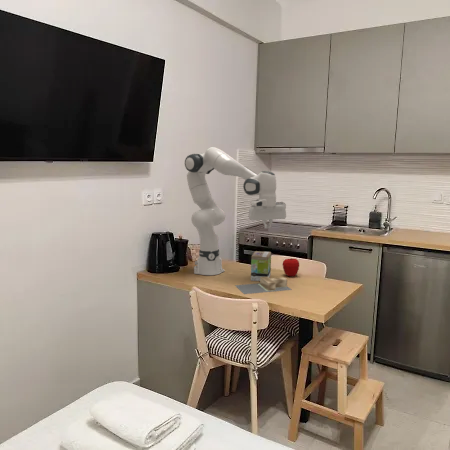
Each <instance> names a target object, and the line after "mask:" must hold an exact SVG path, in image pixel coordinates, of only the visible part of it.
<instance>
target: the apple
mask: <svg viewBox="0 0 450 450" xmlns="http://www.w3.org/2000/svg"><path fill="white" fill-rule="evenodd" d="M282 269H283V272H284V274H285V275H286V276H287V277H296V275H297V274H298V272H299V269H300V261H299V260H298V259H297V258H286V259H284V260H283V262H282Z"/></svg>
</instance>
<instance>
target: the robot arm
mask: <svg viewBox="0 0 450 450" xmlns="http://www.w3.org/2000/svg"><path fill="white" fill-rule="evenodd" d="M184 167H185V169H186V170H187V171H188V173H187V174H186V180H187V186H188V189H189V192H190V194H191V198H192V201H193V203H194V204H196V205H197V206H198V207H199V208H200V209H199V210H197V211H195V212H193V214H192V215H191V223H192V225H193V227H195V228H196V229H197V230H196V231H197V232H198V236H199V249H198V250H199V251H198V255H199V256H198V258H197V260H195V261H194V265H195V266H193V274H195V275H201V276H202V275H203V276H214V275H215V276H216V275H219V274H222V273H225V269H224V268H223V260H222V258H221V256H220V248H219V236H218V234H216V232H215V230H214V227H215V226H218V225H221V224H222V223H223V222H224V221H225V220H226V213H225V211H224V210H223V209H222V208H221V207H220V206H218V204H217V203H216V201H215V199H214V198H213V196H212V193H211V191H210V188H209V185H208V182H207V180H206V175H209V174H210V173H211V172H212V171H214V170H216V171H217V172H218V173H220V174H222V175H223V176H232V177H239V178H241V179H243V180H244V182H243V185H242V187H243V188H242V189H243V191H244V193H245V194H246V195H248V196H259V198H258V199H255V200H252V201H250V207H249V209H248V219H249V220H250V221H262V223H263V225H264V226H263V228H264V229H271V226H272V224H273V223H274V220H286V218H287V211H286V208H287V204H286V203H285V202H283V201H277V194H276V190H277V179H276V178H277V177H276V174H275V173H274V172H272V171H266V170H264V171H263V170H262V171H260V173H258V174H257V173H256V172H254V171H253V170H251V169H250V168H249V167H247V166H245V165H243V164H242V163H241V162H239V161H238V160H236V159H235V158H233V157H232V156H230V155H229V154H228V153H227V152H225V151H224V150H222V149H220V148H218V147H215V146H211V147H209V148H207V150H205V152H199V153H192V154H188V155H187V156H186V157H185V159H184ZM267 221H268V222H269V223H268V224H267V223H266V222H267Z"/></svg>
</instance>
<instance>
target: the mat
mask: <svg viewBox="0 0 450 450" xmlns="http://www.w3.org/2000/svg"><path fill="white" fill-rule="evenodd" d="M234 286H235V288H237V289H238V290H239V291H240V292H241V293H242V294H244V295H250V294H251V295H252V294H259V293H261V294H262V293H271V292H281V291H282V292H283V291H292V289H291V288H290V286H287V287H277V288H275V290H271V291H268V290H267V289H265V288H264V287H263V286H262V285H260V283H259V282H258V283H248V284H247V283H245V284H237V285H234Z"/></svg>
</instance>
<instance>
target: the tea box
mask: <svg viewBox="0 0 450 450" xmlns="http://www.w3.org/2000/svg"><path fill="white" fill-rule="evenodd" d="M250 261H251V262H250V281H251V282H252V281H253V282H254V281H255V282H260V277H269V278H271V276H272V275H271V274H272V273H271V271H272V270H271V269H272V268H271V267H272V252H271V251H260V250H259V251H257V250H256V251H253V254H252V255H251V260H250Z"/></svg>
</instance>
